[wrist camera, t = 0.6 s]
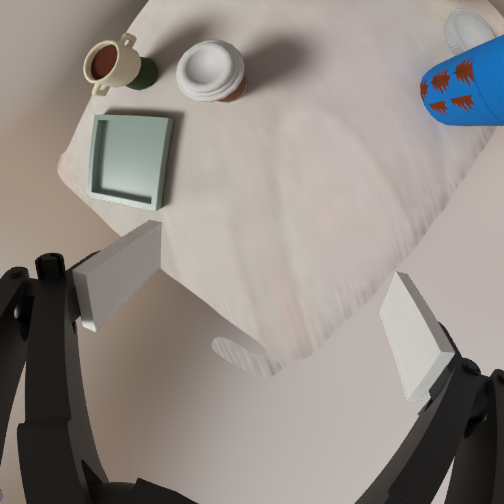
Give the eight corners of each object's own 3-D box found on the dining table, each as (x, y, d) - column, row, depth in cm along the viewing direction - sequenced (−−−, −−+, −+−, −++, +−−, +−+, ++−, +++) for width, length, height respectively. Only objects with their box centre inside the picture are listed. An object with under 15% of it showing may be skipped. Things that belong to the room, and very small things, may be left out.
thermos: (470, 83, 31) (563, 64, 8) (465, 135, 35) (567, 145, 12) (421, 58, 32) (504, 10, 9) (415, 113, 36) (511, 96, 13)
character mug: (145, 44, 38) (104, 24, 26) (174, 55, 38) (136, 33, 26) (117, 94, 42) (71, 87, 30) (143, 107, 42) (98, 101, 31)
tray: (102, 115, 44) (94, 114, 41) (174, 119, 43) (168, 118, 40) (95, 193, 50) (87, 196, 48) (161, 207, 49) (155, 211, 47)
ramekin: (457, 72, 31) (472, 67, 26) (427, 19, 28) (438, 9, 23) (492, 64, 28) (507, 60, 23) (465, 15, 25) (477, 7, 20)
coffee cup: (240, 50, 37) (221, 23, 26) (265, 94, 39) (254, 77, 28) (191, 76, 40) (159, 59, 28) (215, 120, 42) (187, 113, 31)
